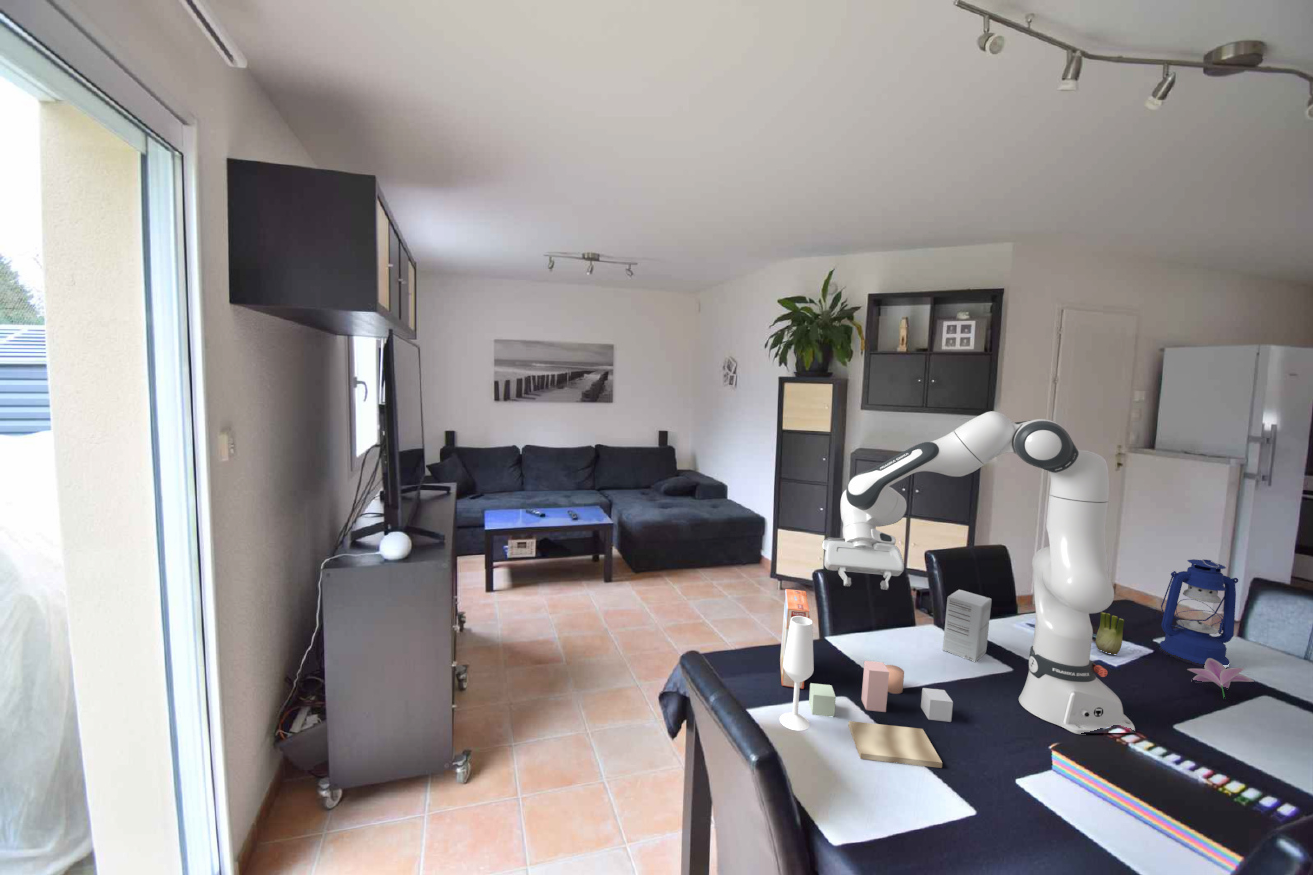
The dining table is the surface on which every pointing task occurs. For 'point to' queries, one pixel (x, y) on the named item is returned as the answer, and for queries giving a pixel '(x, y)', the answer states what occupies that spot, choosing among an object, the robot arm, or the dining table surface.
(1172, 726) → the dining table surface
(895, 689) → the terracotta cylinder
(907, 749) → the pine board
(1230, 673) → the lily
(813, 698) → the sage painted block
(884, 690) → the rose block
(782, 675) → the cracker box
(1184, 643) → the lantern
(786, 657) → the champagne flute
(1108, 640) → the fennel bulb
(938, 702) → the grey plastic block
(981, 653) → the supplement box
